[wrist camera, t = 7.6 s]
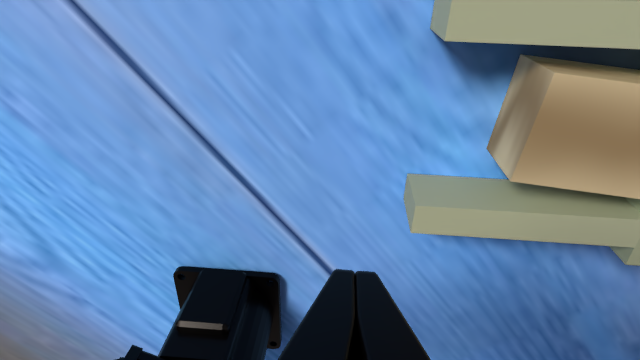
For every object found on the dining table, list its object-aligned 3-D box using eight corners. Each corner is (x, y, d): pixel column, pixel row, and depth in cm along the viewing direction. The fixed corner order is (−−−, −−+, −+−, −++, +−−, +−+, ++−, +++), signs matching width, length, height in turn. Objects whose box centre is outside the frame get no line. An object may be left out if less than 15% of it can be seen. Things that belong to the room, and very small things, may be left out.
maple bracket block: (607, 163, 19) (655, 201, 16) (485, 146, 19) (510, 181, 16) (656, 71, 17) (723, 95, 14) (518, 52, 17) (554, 72, 14)
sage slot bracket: (649, 229, 20) (693, 269, 18) (401, 214, 21) (407, 249, 19) (791, -29, 15) (887, -26, 12) (440, -40, 15) (459, -40, 13)
